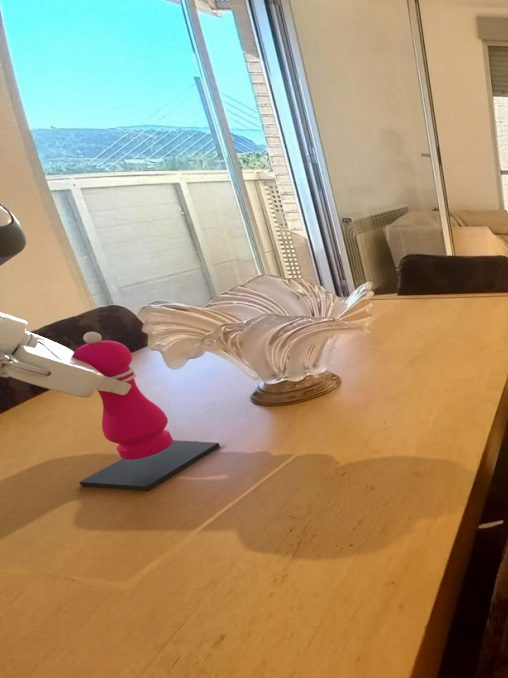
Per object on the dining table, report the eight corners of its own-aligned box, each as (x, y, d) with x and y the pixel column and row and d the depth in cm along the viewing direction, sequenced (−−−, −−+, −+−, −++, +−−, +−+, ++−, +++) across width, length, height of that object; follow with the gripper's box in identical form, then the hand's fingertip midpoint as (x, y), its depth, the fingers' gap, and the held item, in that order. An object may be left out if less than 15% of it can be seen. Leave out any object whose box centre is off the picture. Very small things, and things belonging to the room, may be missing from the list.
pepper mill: (104, 459, 74) (39, 339, 66) (156, 434, 80) (102, 323, 72) (139, 464, 72) (75, 342, 64) (188, 439, 79) (136, 325, 71)
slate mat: (81, 486, 73) (78, 481, 72) (160, 443, 84) (158, 439, 83) (148, 491, 71) (146, 486, 71) (220, 446, 82) (218, 442, 82)
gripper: (16, 337, 56) (156, 380, 68) (-9, 313, 67) (116, 354, 78) (-22, 385, 55) (128, 421, 66) (-42, 352, 65) (90, 388, 77)
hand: (121, 384), depth 72 cm, fingers closed on pepper mill, 5 cm apart
